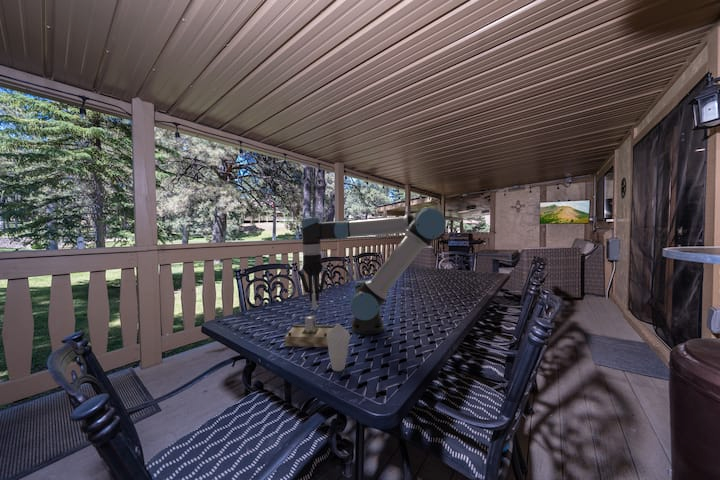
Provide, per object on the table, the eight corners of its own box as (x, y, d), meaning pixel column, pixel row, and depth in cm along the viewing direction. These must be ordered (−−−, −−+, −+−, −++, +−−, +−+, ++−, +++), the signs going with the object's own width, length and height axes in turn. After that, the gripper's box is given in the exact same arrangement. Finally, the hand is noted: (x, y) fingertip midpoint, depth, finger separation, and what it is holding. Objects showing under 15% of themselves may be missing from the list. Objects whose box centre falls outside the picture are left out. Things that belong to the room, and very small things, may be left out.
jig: (333, 334, 122) (333, 324, 121) (328, 347, 110) (328, 334, 109) (294, 334, 123) (294, 323, 123) (285, 346, 111) (284, 334, 111)
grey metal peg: (317, 338, 118) (316, 315, 118) (314, 342, 114) (314, 319, 113) (307, 338, 119) (306, 315, 118) (304, 342, 114) (303, 319, 114)
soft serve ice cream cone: (326, 362, 97) (326, 319, 96) (349, 361, 98) (349, 318, 97) (325, 375, 89) (325, 327, 88) (351, 374, 90) (350, 326, 89)
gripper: (328, 252, 119) (331, 305, 120) (299, 253, 119) (302, 306, 121) (325, 254, 111) (328, 310, 113) (294, 255, 112) (297, 311, 113)
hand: (314, 308), depth 117 cm, fingers closed
